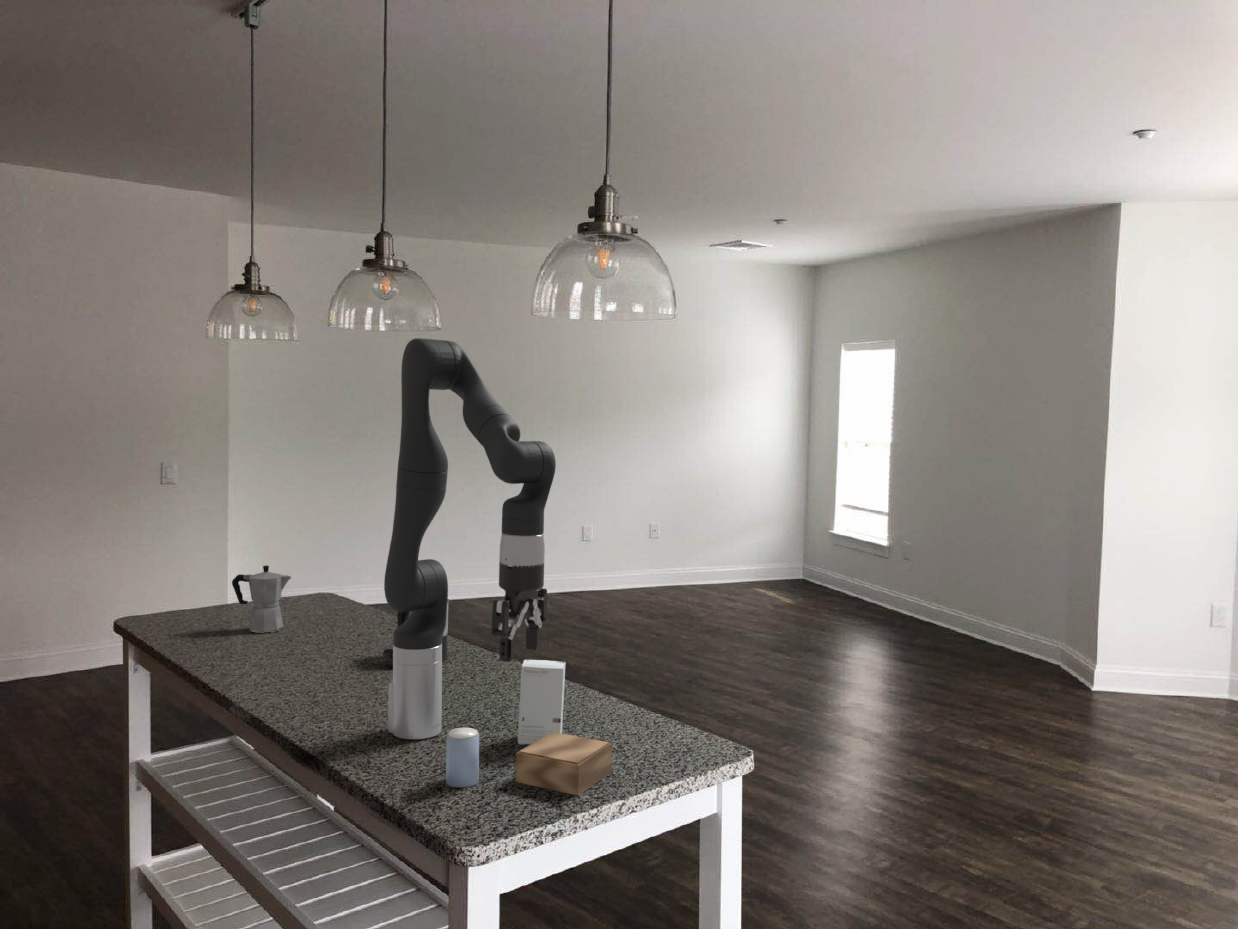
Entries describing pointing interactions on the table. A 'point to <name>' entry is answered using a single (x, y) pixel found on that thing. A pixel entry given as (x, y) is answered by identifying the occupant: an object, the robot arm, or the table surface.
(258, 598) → the coffeepot
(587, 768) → the cardboard box
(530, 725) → the skincare box
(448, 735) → the canister
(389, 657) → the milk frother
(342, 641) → the table surface
